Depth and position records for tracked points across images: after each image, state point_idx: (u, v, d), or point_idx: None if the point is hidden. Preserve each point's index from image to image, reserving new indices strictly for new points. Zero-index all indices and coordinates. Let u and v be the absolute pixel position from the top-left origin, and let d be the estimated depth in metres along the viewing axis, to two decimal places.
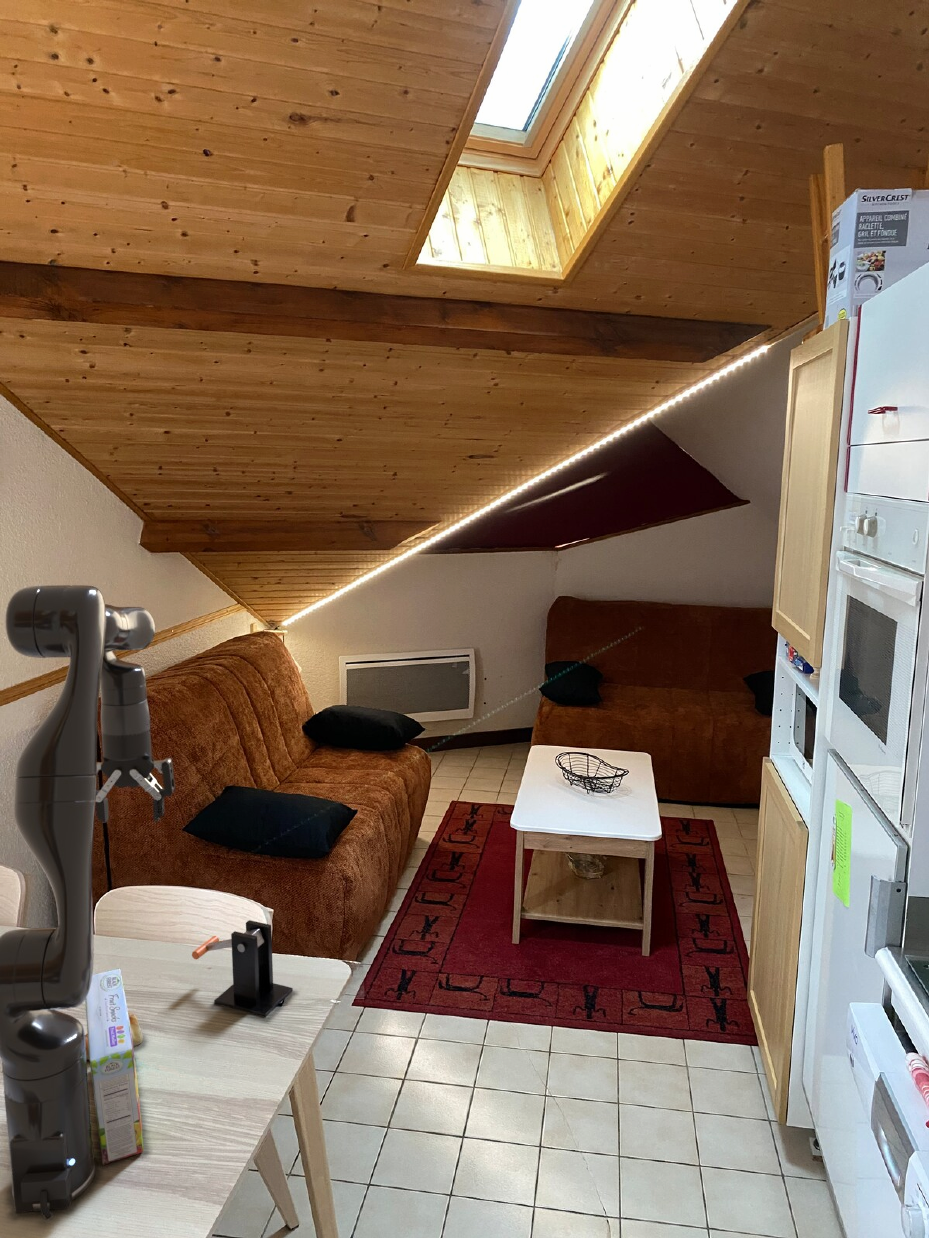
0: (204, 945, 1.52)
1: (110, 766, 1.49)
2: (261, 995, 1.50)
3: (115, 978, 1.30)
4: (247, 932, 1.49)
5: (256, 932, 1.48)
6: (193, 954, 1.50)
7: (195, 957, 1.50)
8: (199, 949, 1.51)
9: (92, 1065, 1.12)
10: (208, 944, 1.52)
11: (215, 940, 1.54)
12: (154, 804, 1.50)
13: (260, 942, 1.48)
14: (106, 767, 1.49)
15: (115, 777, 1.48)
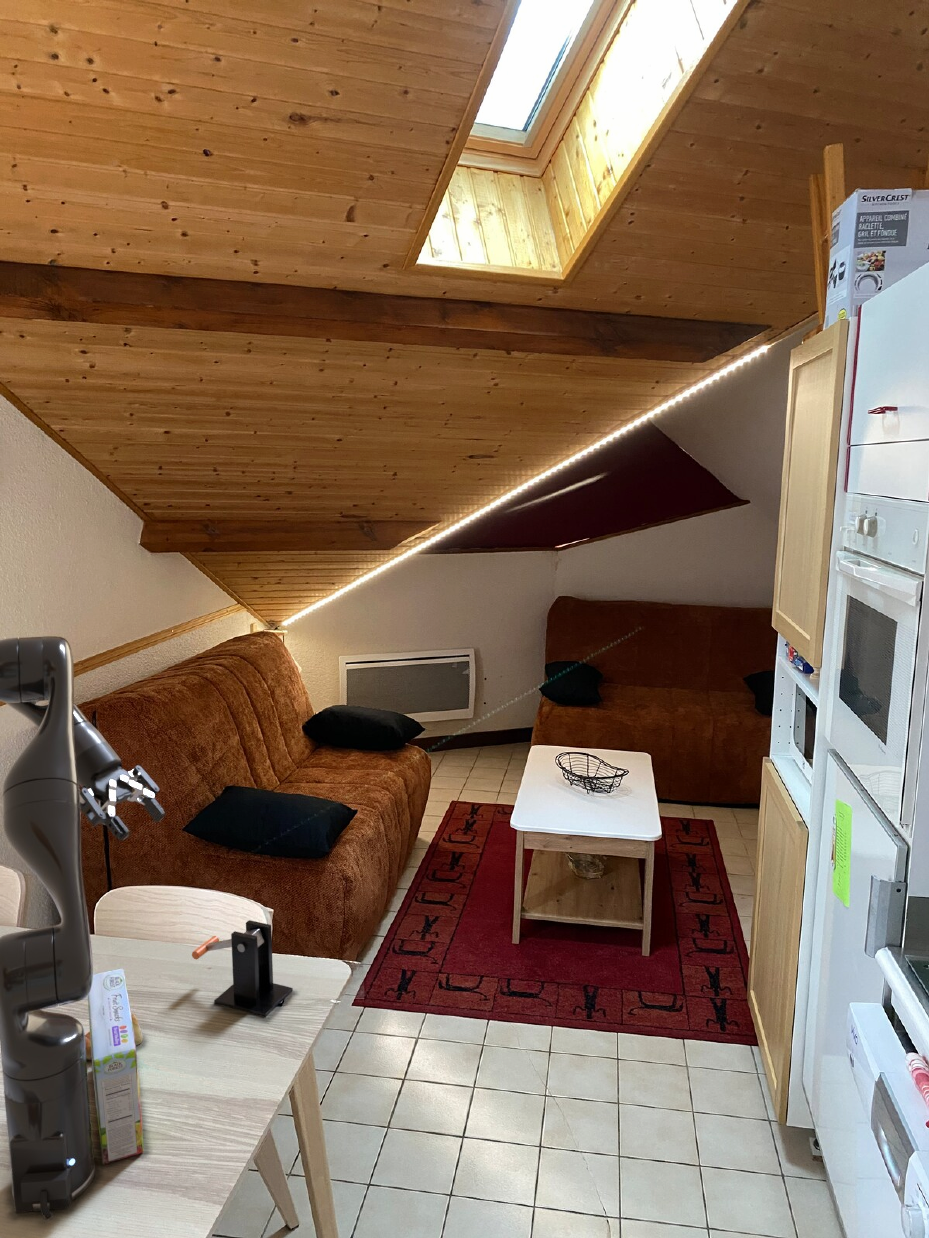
0: (204, 945, 1.52)
1: (101, 783, 1.51)
2: (261, 995, 1.50)
3: (118, 977, 1.30)
4: (247, 932, 1.49)
5: (256, 932, 1.48)
6: (193, 954, 1.50)
7: (195, 957, 1.50)
8: (199, 949, 1.51)
9: (95, 1064, 1.12)
10: (208, 944, 1.52)
11: (215, 940, 1.54)
12: (153, 801, 1.56)
13: (260, 942, 1.48)
14: (99, 785, 1.50)
15: (113, 786, 1.51)
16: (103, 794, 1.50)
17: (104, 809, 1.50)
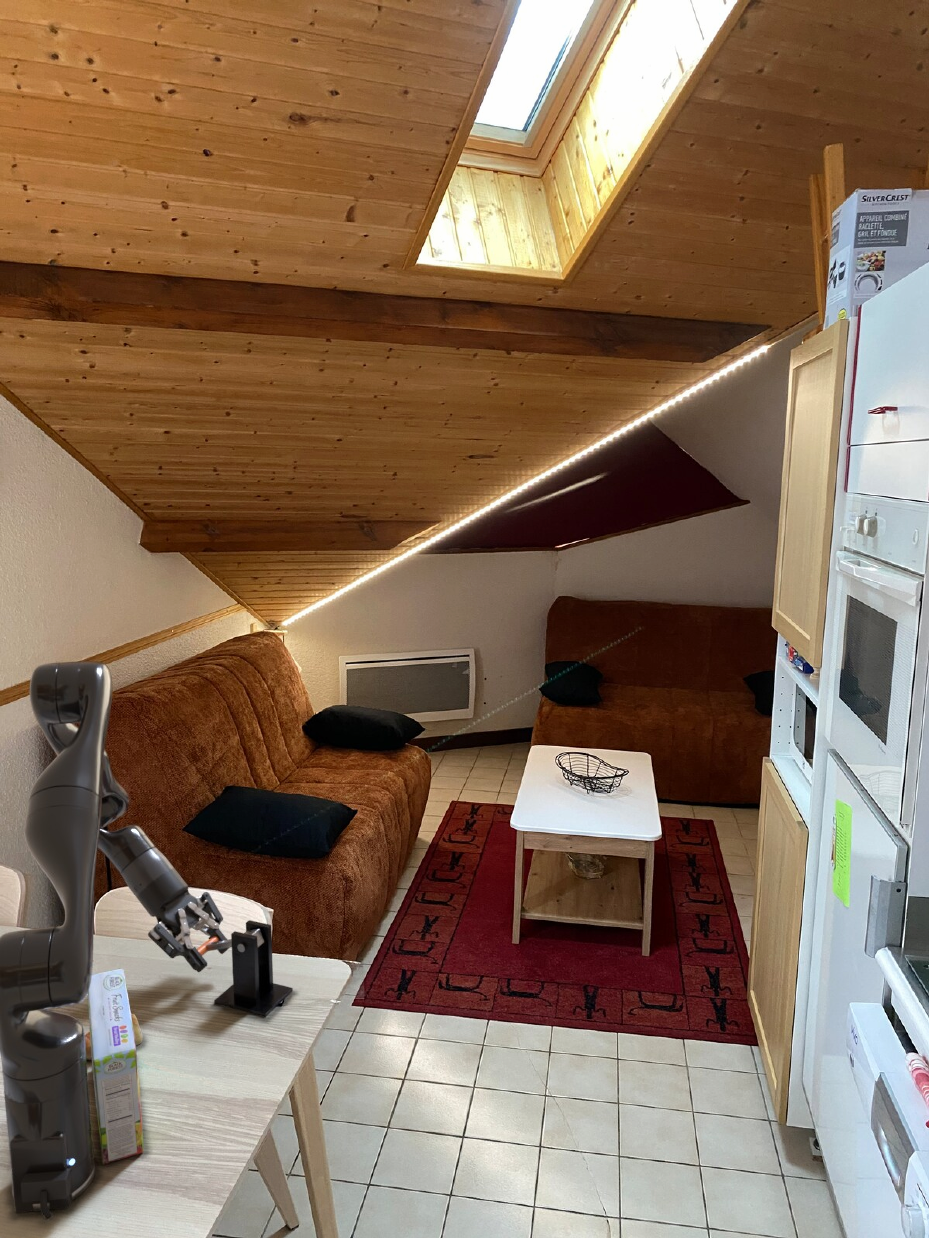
0: (204, 945, 1.52)
1: (169, 913, 1.51)
2: (261, 995, 1.50)
3: (118, 977, 1.30)
4: (247, 932, 1.49)
5: (256, 932, 1.48)
6: None
7: None
8: (199, 949, 1.51)
9: (95, 1064, 1.12)
10: (208, 944, 1.52)
11: (215, 940, 1.54)
12: (218, 933, 1.55)
13: (260, 942, 1.48)
14: (168, 915, 1.51)
15: (182, 916, 1.52)
16: (173, 924, 1.50)
17: (179, 940, 1.51)
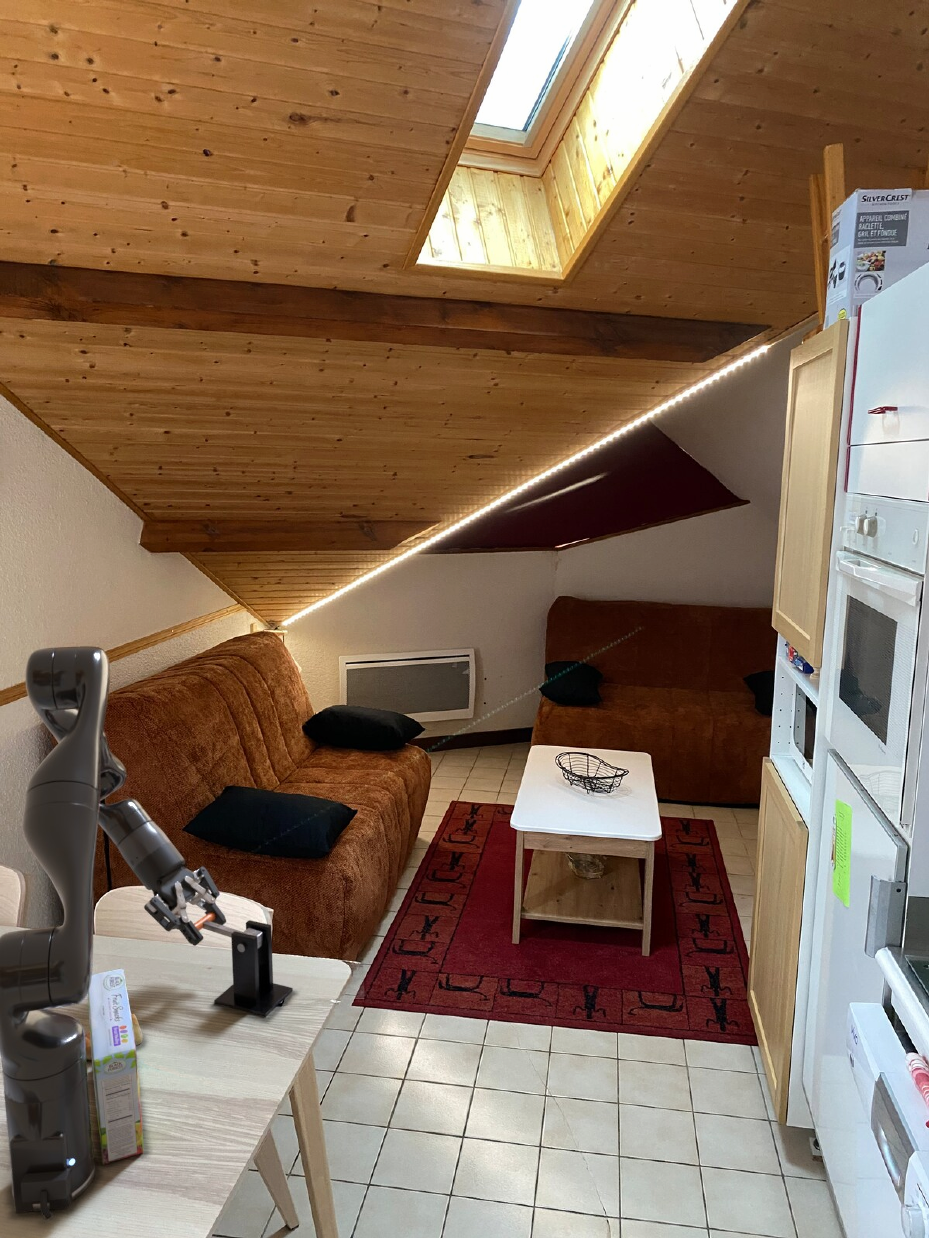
0: (201, 922, 1.52)
1: (166, 886, 1.51)
2: (261, 995, 1.50)
3: (118, 977, 1.30)
4: (249, 931, 1.49)
5: (259, 936, 1.48)
6: None
7: None
8: (196, 926, 1.50)
9: (95, 1064, 1.12)
10: (205, 922, 1.52)
11: (212, 918, 1.54)
12: (214, 908, 1.55)
13: (259, 945, 1.49)
14: (164, 889, 1.50)
15: (179, 889, 1.51)
16: (169, 898, 1.50)
17: (175, 914, 1.50)
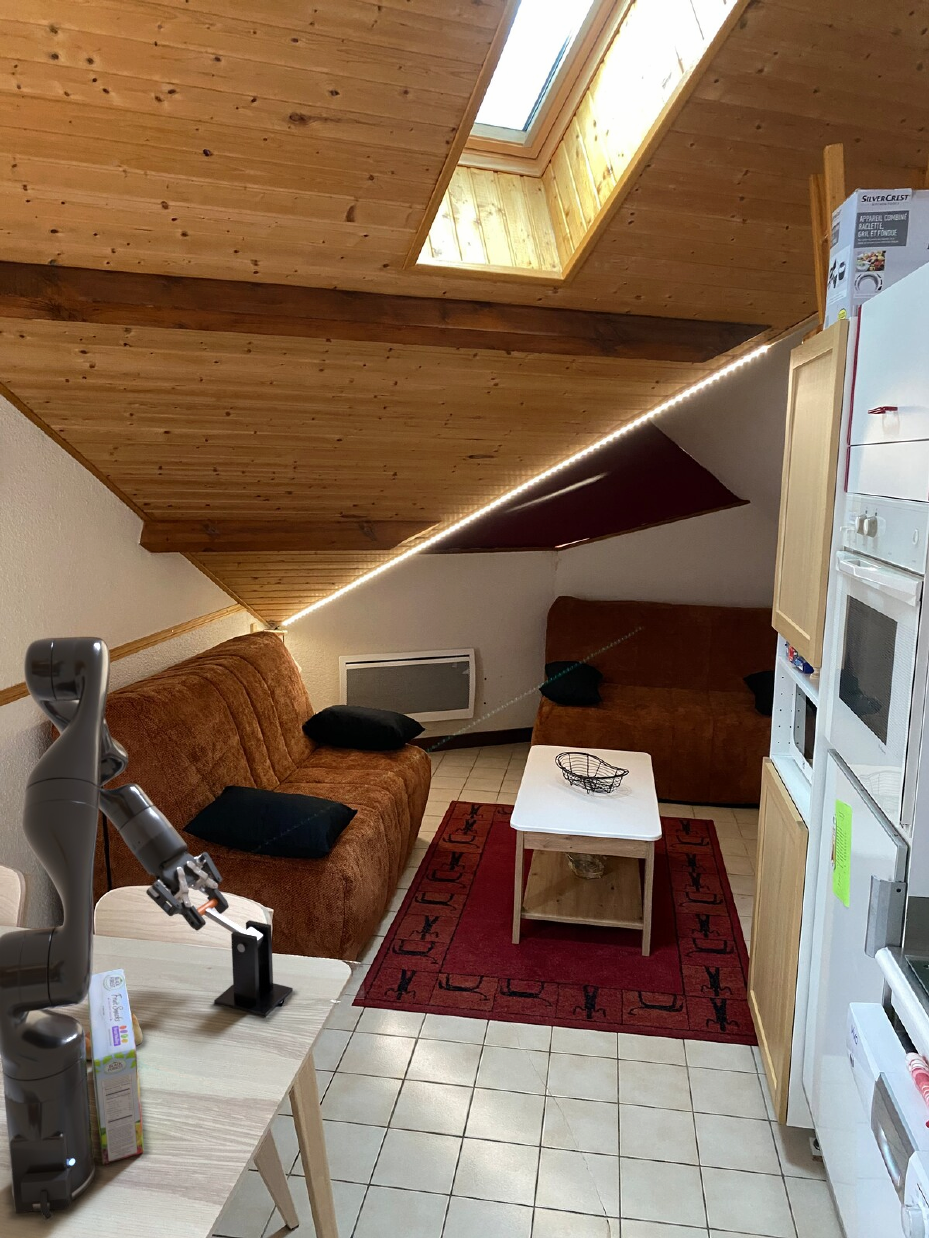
0: (204, 909, 1.51)
1: (168, 871, 1.50)
2: (261, 995, 1.50)
3: (118, 977, 1.30)
4: (251, 931, 1.49)
5: (260, 938, 1.48)
6: None
7: None
8: (199, 912, 1.50)
9: (95, 1064, 1.12)
10: (208, 910, 1.51)
11: (214, 905, 1.53)
12: (217, 893, 1.54)
13: None
14: (167, 873, 1.49)
15: (181, 874, 1.50)
16: (171, 882, 1.49)
17: (177, 898, 1.49)
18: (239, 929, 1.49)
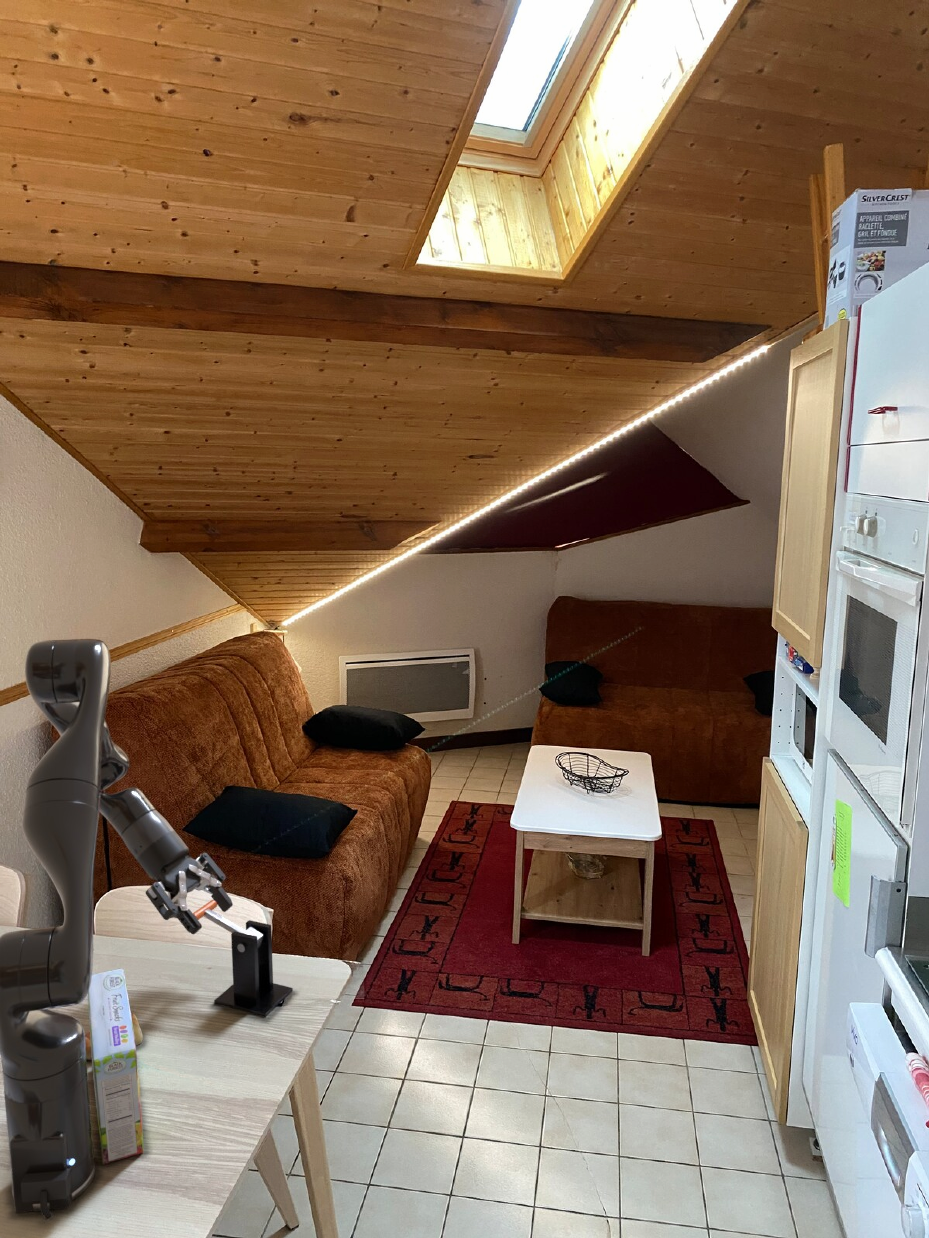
0: (204, 910, 1.51)
1: (171, 875, 1.50)
2: (261, 995, 1.50)
3: (118, 977, 1.30)
4: (251, 931, 1.49)
5: (260, 938, 1.48)
6: None
7: None
8: (199, 914, 1.50)
9: (95, 1064, 1.12)
10: (208, 911, 1.51)
11: (214, 906, 1.53)
12: (221, 891, 1.55)
13: None
14: (169, 877, 1.49)
15: (183, 878, 1.50)
16: (173, 886, 1.49)
17: (175, 902, 1.49)
18: (239, 929, 1.49)
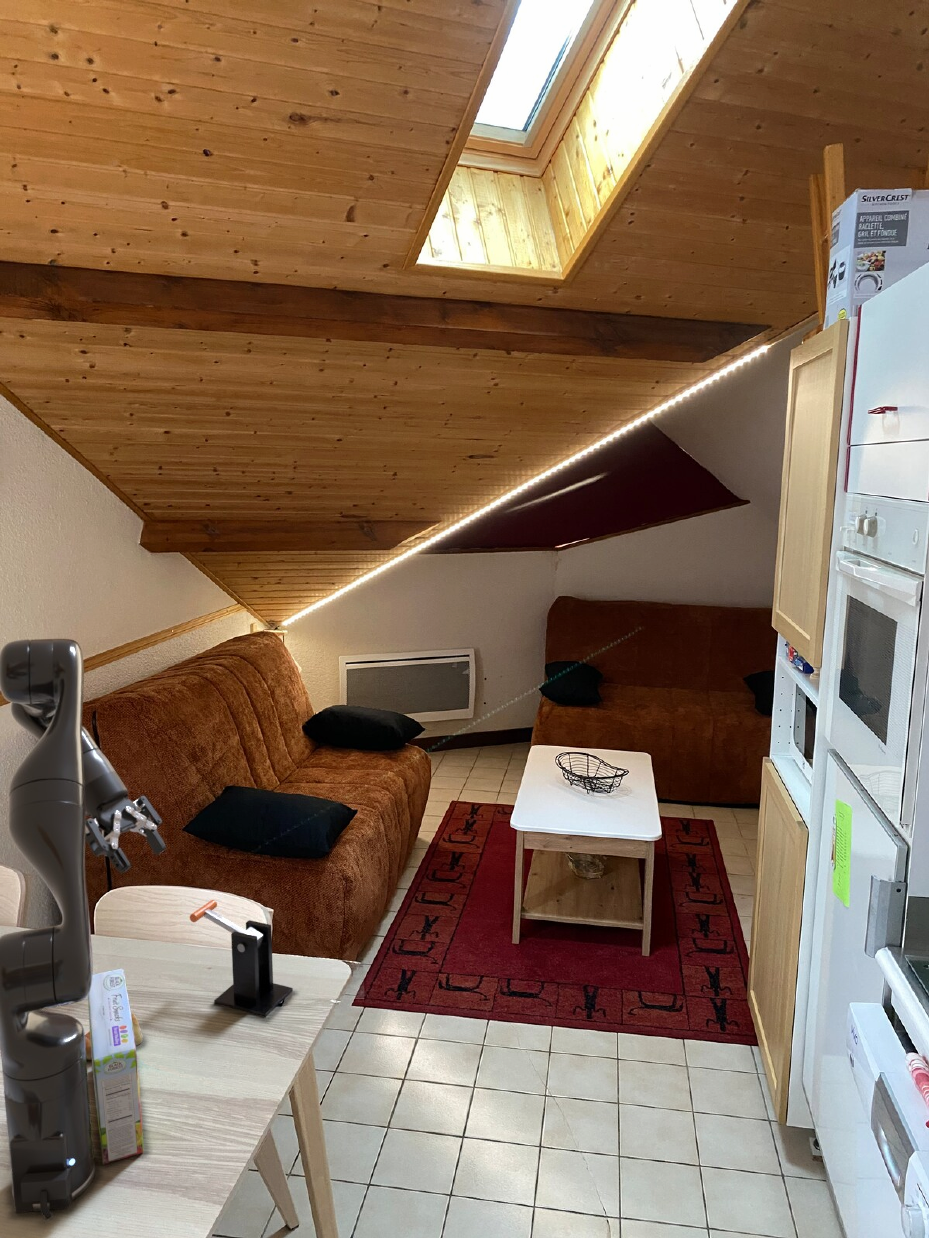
0: (204, 910, 1.51)
1: (106, 814, 1.52)
2: (261, 995, 1.50)
3: (118, 977, 1.30)
4: (251, 931, 1.49)
5: (260, 938, 1.48)
6: (191, 916, 1.49)
7: (192, 919, 1.49)
8: (199, 914, 1.50)
9: (95, 1064, 1.12)
10: (208, 911, 1.51)
11: (214, 906, 1.53)
12: (155, 834, 1.57)
13: None
14: (104, 816, 1.52)
15: (118, 818, 1.52)
16: (107, 825, 1.51)
17: (107, 840, 1.51)
18: (239, 929, 1.49)
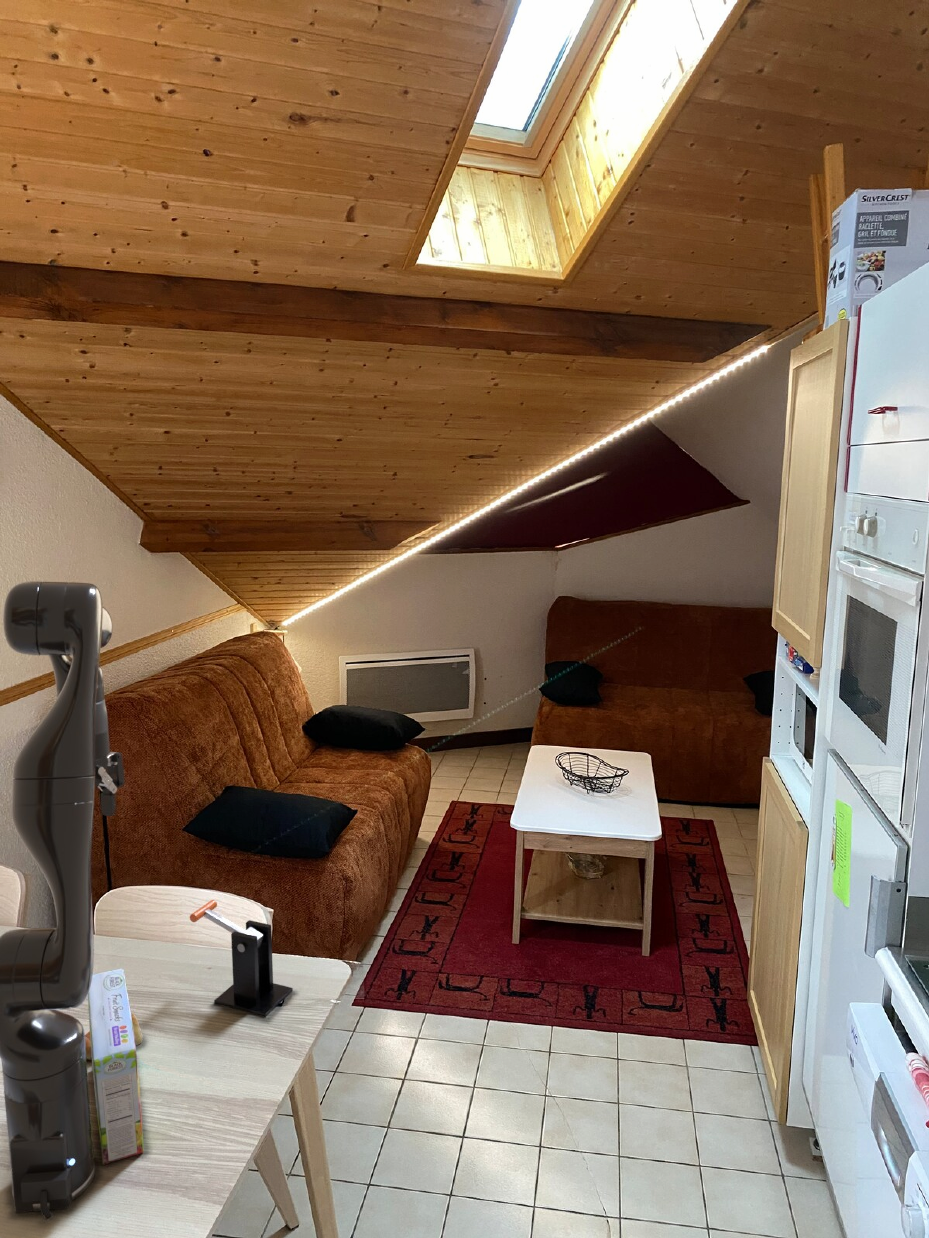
0: (204, 910, 1.51)
1: None
2: (261, 995, 1.50)
3: (118, 977, 1.30)
4: (251, 931, 1.49)
5: (260, 938, 1.48)
6: (191, 916, 1.49)
7: (192, 919, 1.49)
8: (199, 914, 1.50)
9: (95, 1064, 1.12)
10: (208, 911, 1.51)
11: (214, 906, 1.53)
12: (112, 798, 1.51)
13: None
14: None
15: None
16: None
17: None
18: (239, 929, 1.49)
